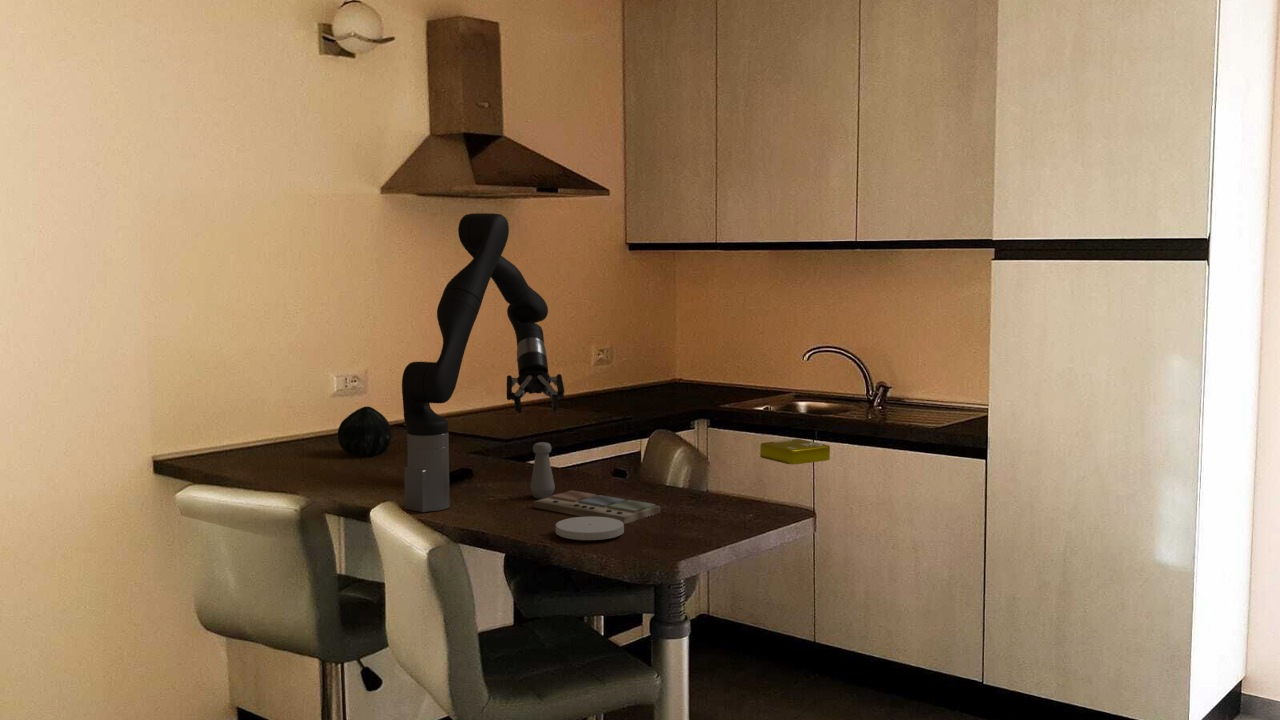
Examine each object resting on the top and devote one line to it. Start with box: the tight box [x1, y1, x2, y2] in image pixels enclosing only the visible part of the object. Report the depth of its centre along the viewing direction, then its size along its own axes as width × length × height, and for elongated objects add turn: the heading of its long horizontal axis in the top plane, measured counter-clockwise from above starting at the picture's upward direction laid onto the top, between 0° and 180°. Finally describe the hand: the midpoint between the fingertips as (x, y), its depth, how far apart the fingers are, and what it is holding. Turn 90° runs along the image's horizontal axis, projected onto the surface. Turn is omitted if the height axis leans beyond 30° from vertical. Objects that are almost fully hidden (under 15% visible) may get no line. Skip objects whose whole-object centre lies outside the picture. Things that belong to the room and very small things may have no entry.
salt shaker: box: [530, 441, 556, 500], centre depth 269 cm, size 6×6×13 cm
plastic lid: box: [555, 516, 625, 541], centre depth 234 cm, size 14×14×2 cm
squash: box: [337, 406, 392, 457], centre depth 326 cm, size 14×15×15 cm
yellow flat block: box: [759, 438, 831, 465], centre depth 320 cm, size 15×15×5 cm
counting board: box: [533, 490, 661, 525], centre depth 256 cm, size 13×26×2 cm, turn 53°
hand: (537, 410), depth 279 cm, fingers open, 8 cm apart
